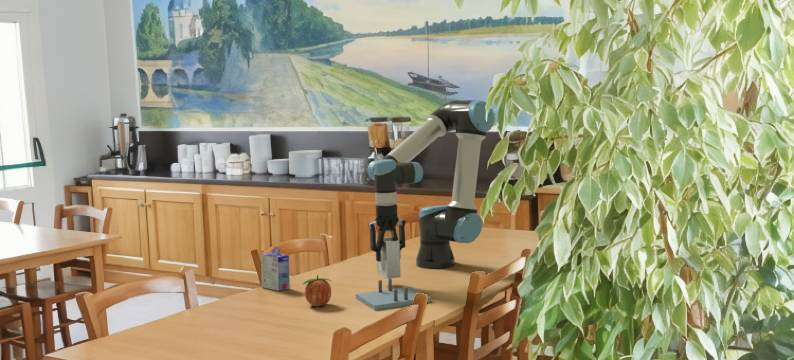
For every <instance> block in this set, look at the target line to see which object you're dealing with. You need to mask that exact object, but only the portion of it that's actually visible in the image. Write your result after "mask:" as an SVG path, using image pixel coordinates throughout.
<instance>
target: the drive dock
mask: <svg viewBox="0 0 794 360" xmlns="http://www.w3.org/2000/svg"><path fill="white" fill-rule="evenodd" d="M392 279H393V278H391V279H387V283H388V289H383V281H382V280H381V279H378V281H377V284H378V286H377V287H378V290H374V291H369V292H368V291H367V292H359V293H355V299H356V300H358V301H360V302H361V303H363V304H364V305H366V306H367V307H369V308H370V309H372V310H374V311H379V310H384V309H385V310H387V309H391V308H392V309H394V308H399V307H407V306H412V305H411V304H412V302H413V299H414V296H415V294H416V293H419V292H420V291H419V290H417V289H416V288H415V287H414V288H413V287H412V286H403V287H397V288H393V283H392V282H393V281H392ZM427 296H428V303H432V297H431V296H429V295H427ZM428 303H427V304H428Z"/></svg>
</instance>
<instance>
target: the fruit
mask: <svg viewBox="0 0 794 360" xmlns="http://www.w3.org/2000/svg"><path fill="white" fill-rule="evenodd" d="M328 281H330V282H332V280H331V279H329V278H323V277H319V275H318V274H317V275H316V278H311V279H307V280H306V281H304V282H303V283H302V285H306V286H305V288H304V296H305V299H306V301H307V303H308V304H310V305H311V306H313V307H323V306H325V305H327V304H328V303H329V302H330V300H331V297H332V287H331V285H330V284H329V282H328Z"/></svg>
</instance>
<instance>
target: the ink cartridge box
mask: <svg viewBox="0 0 794 360" xmlns="http://www.w3.org/2000/svg"><path fill="white" fill-rule="evenodd" d="M276 250H277V251H276ZM281 250H282V248H281V247H277V246H274V247H273V249H272V251H271V252H267V253H262V254H260V265H261V266H260V271H261V272H260V273H261V274H260V275H261V288H264V289H269V290H273V291H278V292H280V291H284V290H289V289H290V287H291V286H290V284H291V283H290V279H291V278H290V255H289V254H283V253H280V252H281Z"/></svg>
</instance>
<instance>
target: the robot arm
mask: <svg viewBox="0 0 794 360" xmlns="http://www.w3.org/2000/svg"><path fill="white" fill-rule="evenodd" d="M486 103H487V102H486V101H484V100H478V99H473V100H472V99H471V100H470V99H469V100H468V99H466V100H451V101H448V102H446V103H444V104H443V105H441V106H439V107H438V108H437V109H436V110H434V111H433V112H432V113H430V114H429V115H428V116H427V117H426V119H425V122H424V123H423V124H421V125H420V126H419V127H418V128H416V129H415V131H413V132H412V133H411V134H410V135H408V136H407V137H406V138H405V139H404V140H403V141H401V143H399V144H398V145H397V146H396V147H394V148H393V149H392V150H391V151H390V152H389V153H387V155H385V156H384V157H383V158H382V159H377V160H373V161H371V162H370V163H369V164H368V166H367V171H366V172H367V175H368V177H369V178H370V180H372V181H374V193H375V195H374V196H375V199H374V200H375V204H376V205H375V220H374V221H372V222H368V223H367V225H368V228H369V243H370V249H369V250H370V251H372V252H374V253H375V260H376V262H377V261H378V262H379V270H381V271H384V265H383V252H381V249H382V244H383V243H382V241H383V239H384V237H385V234H386V231H387V232H388V231H389V232H390V235H391V236H390V237H392V238H393V239H397V240H399V245H400V252H401V251H402V249H404V248H406V232H405V228H406V227H405V226H406V222H407V221H406V219H402V218H401V219H400V218H399V216H398V205H397V202H398V195H397V193H398V192H397V187H398V186H401V185H408V184H416V183H419V182H420V181H422V179H423V176H424V169H423V166H422V165H421V164H420V163H419V162H417V161H413V159H415V158H416V157H417V156H418V155H420V154H421V152H422V151H424V150H425V149H426V148H427V147H428V146H430V144H432V143H433V142H434V141H436V139H438V138H439V137H444V136H445V135H446V134H447V133H449V132H453V131H455V132H454V133H455V136H456V137H457V139H458V142H457V143H458V144H457V153H456V160H455V168H454V177H453V186H452V194H451V200H450V202H449V203H447V204H445V205H444V204H443V205H432V206H427V207H426V206H425V207H422V208H421V209H420V210H419V217H418V220H419V222H418V224H419V225H418V226H419V248H418V252H417V255H416V259H415V262H416V263H415V264H416V266H417V267H420V268H424V269H444V268H449V267H453V266H455V264H456V263H455V262H456V261H455V256H454V252H453V250H452V247H451V243H450V242H455V243H459V244H470V243H473V242H475V240H476V239H477V238H479V237H480V235H481V232H482V229H483V221H482V217H480V215H479V214H478V207H477V206H476V205H475V198H476V190H477V189H476V188H477V181H478V171H479V163H480V157H481V156H480V155H481V154H480V153H481V147H482V141H484V140H485V139H486V138H487V133H488V132H489V131H491V129H492V128H493V127H494V124H495V114H494V113H495V112H494V110H493V109H492V108H491V109H490V112H489V114H488V121H487V122H486V120H485V105H486ZM397 225H398V234H397V228H396V226H397ZM376 228H378V231H377V232H378V235H377V232H376ZM376 238H377V243H376ZM400 259H401V254H400Z"/></svg>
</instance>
